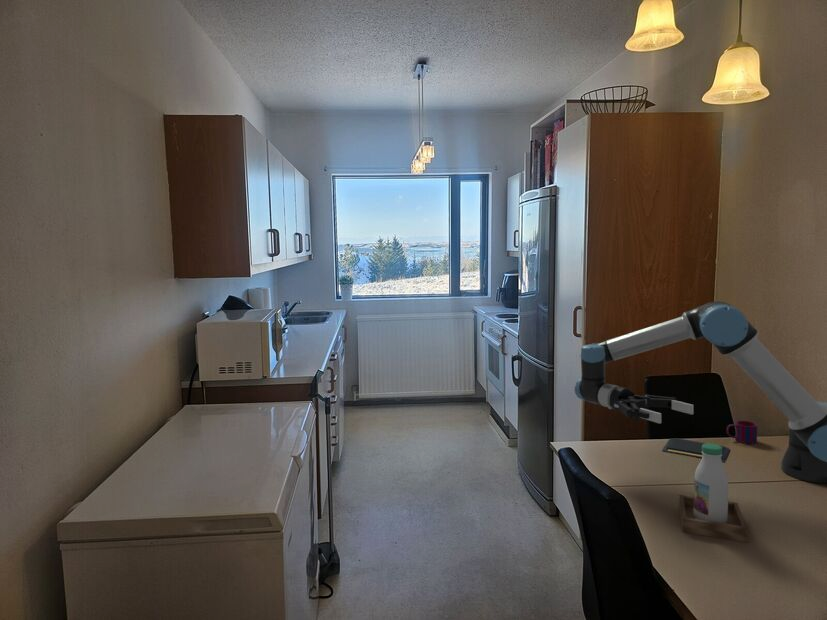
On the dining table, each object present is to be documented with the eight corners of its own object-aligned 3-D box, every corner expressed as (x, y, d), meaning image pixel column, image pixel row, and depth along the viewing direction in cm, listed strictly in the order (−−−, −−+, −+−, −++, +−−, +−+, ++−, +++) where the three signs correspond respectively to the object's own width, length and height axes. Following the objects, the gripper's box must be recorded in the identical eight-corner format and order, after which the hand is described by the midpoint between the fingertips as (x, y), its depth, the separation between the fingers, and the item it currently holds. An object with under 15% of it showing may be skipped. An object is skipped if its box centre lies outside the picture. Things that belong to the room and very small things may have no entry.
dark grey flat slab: (731, 445, 183) (725, 459, 171) (731, 450, 183) (724, 465, 172) (670, 435, 196) (660, 447, 184) (670, 439, 196) (660, 452, 184)
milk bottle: (723, 514, 137) (725, 442, 135) (730, 529, 130) (733, 452, 128) (691, 510, 140) (692, 439, 138) (696, 524, 133) (698, 450, 130)
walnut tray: (737, 515, 138) (737, 502, 138) (746, 542, 126) (747, 528, 125) (678, 506, 144) (679, 494, 144) (682, 531, 131) (682, 518, 131)
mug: (759, 445, 186) (760, 426, 185) (728, 443, 189) (729, 425, 188) (752, 438, 193) (753, 420, 192) (722, 437, 195) (723, 419, 194)
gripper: (644, 402, 170) (705, 418, 151) (587, 416, 159) (646, 435, 140) (643, 380, 169) (705, 393, 150) (587, 392, 158) (646, 408, 139)
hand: (677, 414), depth 145 cm, fingers open, 13 cm apart
